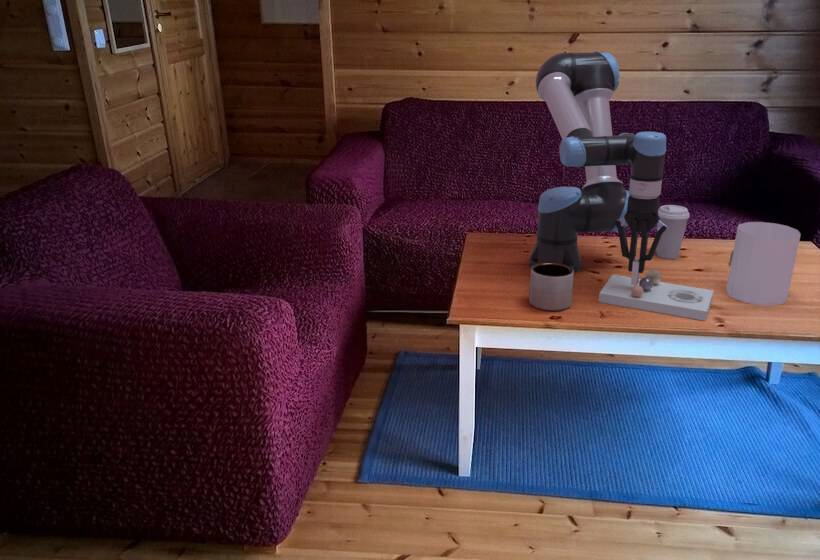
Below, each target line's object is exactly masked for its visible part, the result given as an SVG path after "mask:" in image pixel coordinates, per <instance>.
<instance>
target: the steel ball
mask: <svg viewBox="0 0 820 560" xmlns="http://www.w3.org/2000/svg"><path fill="white" fill-rule="evenodd" d="M640 279H641V280H640V281H639V286H641V287H642V288H643V290H645V291H647V290H650V289H651V288H652V287H653V281H652V280H651V279H650V278H648V277H645V276H644V277H641V278H640Z"/></svg>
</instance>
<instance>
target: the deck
mask: <svg viewBox="0 0 820 560" xmlns="http://www.w3.org/2000/svg"><path fill="white" fill-rule="evenodd" d="M641 279H642V278H639V281H640V280H641ZM637 285H639V282H638V284H637ZM633 286H635V285H631V276H625V275H619V274H618V275H617V274H611V276H610V277H609V279H608V280H607V282H606V283H605V284H604V286H603V287H602V288H601V290H600V291H599V294H598V302H599V303H603V304H608V305H612V306H613V305H614V306H620V307H626V308H629V309H636V310H642V311H647V312H653V313H657V314H659V313H660V314H663V315H670V316H675V317H681V318H687V319H691V320H696V321H697V320H698V321H702V322H703V321H704V322H706V321H707V317H708V315H709V310H710V307H711V305H712V302H713V297H714V292H715V291H714V290H713V289H708V288H707V289H706V288H702V287H701V288H700V287H694V286H689V285H682V284H677V283H675V284H674V283H669V282H662V281H659V282H658V283H657V284H653V287H652V288H651V289H650V290H647V291H645V290H643V294H642V295H641V296H640V297H635V296H633V295H632V293H631V289H632V287H633Z"/></svg>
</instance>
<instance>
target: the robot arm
mask: <svg viewBox="0 0 820 560" xmlns="http://www.w3.org/2000/svg"><path fill="white" fill-rule="evenodd" d="M619 67H620V66H619V64H618V61H617V59H616V57H615V56H614V55H612V53H610V52H602V51H593V52H591V51H590V52H559V53H557V54H554V55H552V56H550V57H549V58H548V59H546V60H545V61H544V62H543V64H542V65H541V66H540V67H539V69H538V71H537V74H536V77H535V87H536V92H537V94H538V95H539V98H540V99H541V100H542V101H544V102H545V103H546V105H547V108H548V110H549V112H550V114H551V116H552V119H553V121H554V123H555V125H556V127H557V130H558V132H559V135H560V137H561V141H560V144H559V153H558V154H559V156H560V157H559V158H560V159H559V160H560V163H561V164H562V166H564V167H573V168H574V167H575V168H582V167H584V168H585V169H584V170H585V178H586V182H585V184H584V185H583V186H582V188H581V189H580V188H579V187H576V186H558V187H553V188H550V189H547V190H545V191H543V192H542V193H541V194H540V196H539V201H538V206H537V211H538V212H537V230H536V231H537V234H536V241H535V244H534V247H533V249H532V252H531V254H530V257H529V264H528V265H529V268H530V269H531V268H532V266H534V265H536V264H539V263H546V262H552V263H560V264H564V265H567V266H570V267H571V268H572V269H573V270H574V273H573V275H574V274H576V273H578V272H580V271H581V270H582V262H583V261H582V258H581V253H580V250H579V245H578V235H579V234H581V233H602V232H605V233H606V232H608V233H612V232H617V231H618V236H619V243H620V251H621V256H622V257H623V258H627V259H628V267H627V270H628V272H631V276H630V277H631V285H637V284H638V282H639V279H640V274H643V272H644V271H645V265H646V261H651V260H652V259H653V258H654V256H655V254H656V252H657V246H658V243H659V241H660V238H661V236H662V233H663V232H664V231H665V230H666V229H667V227H668V225H667V224H663V223H662V222H661V221H660V218H659V215H658V210H659V208H660V202H661V201H660V200H661V198H660V197H659V196H660V195H661V192H662V185H663V176H664V175H663V174H664V167H665V159H666V158H665V157H666V154H667V135H665V134H664V132H663V133H662V132H658V131H640V132H637V133H636V134H635V133H628V132H623V133H620V134H618V135H613V129H612V121H611V120H612V118H611V109H610V101H611V99H612V98H613V96H614V92H616V90H617V89H618V87H619V84H620V68H619ZM617 166H630V177H629V187H628V188H629V189H628V190H627V189H625V188H624V182H622V181H621V180H620V179H618V176H617ZM655 226H656V234H655V236H654V238H653V240H652V244H651V246H650V248H649V251H648V242H649V233H650V232H651V231H652V229H653V228H655ZM627 227H628V228H630V230H631V231H630V235H631V236H630V244H629V245H628V237H627V236H628V235H627V232H626V228H627ZM657 231H658V232H657ZM639 232H640V233H641V237H640V238H641V240H640V249H639V257H638V258H637V257H636V256H637V249H638V248H637V247H638V240H639V239H638V237H639Z"/></svg>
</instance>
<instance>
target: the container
mask: <svg viewBox="0 0 820 560" xmlns="http://www.w3.org/2000/svg"><path fill="white" fill-rule="evenodd" d="M800 239H801V232H800V231H799V230H798V229H796V228H793V227H791V226H789V225H784V224H780V223H774V222H764V221H747V222H743V223H740V224H738V226H737V228H736V234H735V240H734V245H733V249H734V250H733V249H732V251H733V256H732V262H731V265H730V268H729V269H730V270H729V275H728V280H727V284H726V285H727V286H726V291H725V292H726V293H727V295H728V296H730V298H733V299H735V300H737V301H739V302H742V303H747V304H751V305H756V306H770V307H772V306H777V305H783V304H784V303H785V302H786V301H787V300H788V296H789V291H790V288H791V287H790V286H791V282H792V277H793V273H794V272H793V271H794V268H795V263H796V260H797V259H796V258H797V254H798V250H799V243H800V241H801V240H800Z"/></svg>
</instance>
